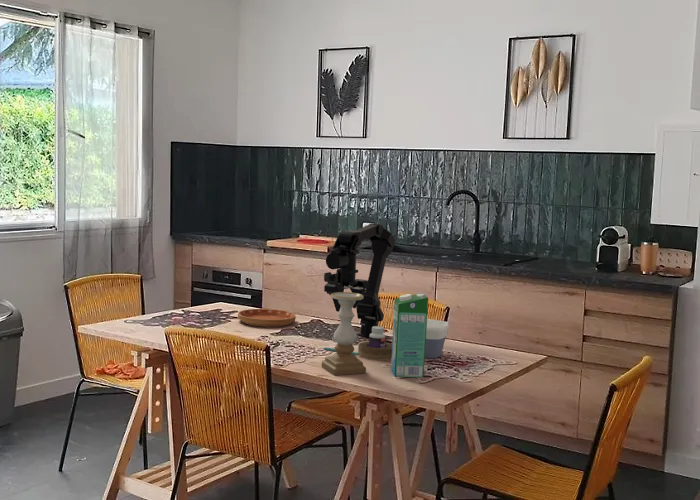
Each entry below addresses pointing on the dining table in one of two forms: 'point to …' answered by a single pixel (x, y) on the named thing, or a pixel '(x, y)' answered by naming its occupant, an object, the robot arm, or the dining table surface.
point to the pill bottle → (377, 337)
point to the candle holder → (344, 339)
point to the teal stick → (335, 351)
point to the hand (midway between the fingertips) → (346, 309)
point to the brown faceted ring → (375, 351)
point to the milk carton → (409, 335)
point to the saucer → (266, 317)
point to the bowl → (435, 337)
